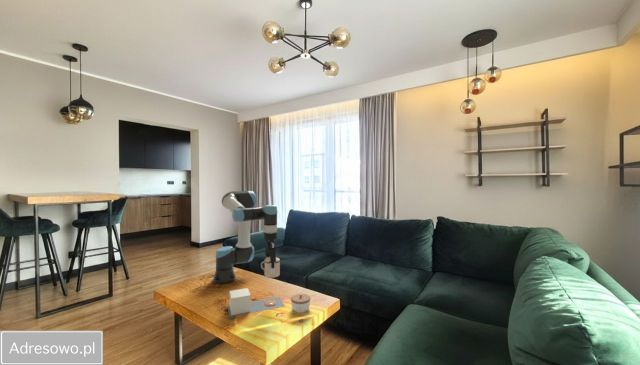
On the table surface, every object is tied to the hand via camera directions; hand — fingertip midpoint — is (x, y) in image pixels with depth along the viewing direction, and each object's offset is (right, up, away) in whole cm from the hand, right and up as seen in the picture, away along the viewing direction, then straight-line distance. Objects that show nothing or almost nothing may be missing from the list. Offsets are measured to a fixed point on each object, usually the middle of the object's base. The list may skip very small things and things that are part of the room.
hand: (270, 270), depth 152 cm
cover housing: (-16, -19, -7) cm, 26 cm away
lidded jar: (+18, -21, -6) cm, 28 cm away
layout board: (-7, -20, -3) cm, 22 cm away
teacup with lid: (0, -3, +1) cm, 3 cm away
